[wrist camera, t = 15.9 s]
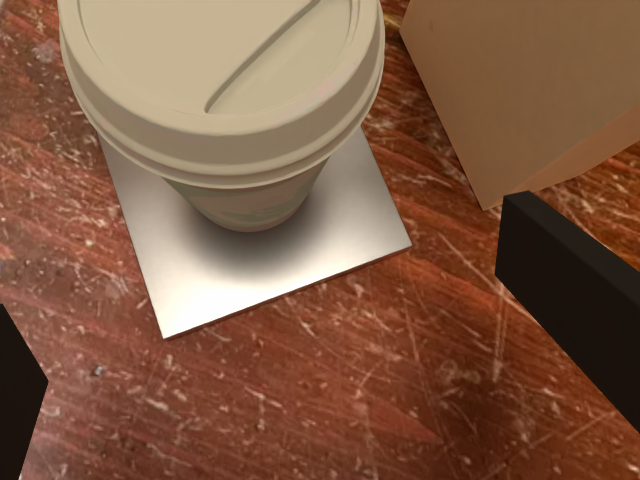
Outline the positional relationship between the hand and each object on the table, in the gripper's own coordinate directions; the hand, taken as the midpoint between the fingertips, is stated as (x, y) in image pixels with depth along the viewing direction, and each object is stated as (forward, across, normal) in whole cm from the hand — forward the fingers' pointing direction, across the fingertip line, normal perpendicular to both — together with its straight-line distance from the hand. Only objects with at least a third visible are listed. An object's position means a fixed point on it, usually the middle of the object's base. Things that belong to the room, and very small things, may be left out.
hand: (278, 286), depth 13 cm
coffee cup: (+11, 0, -2) cm, 11 cm away
